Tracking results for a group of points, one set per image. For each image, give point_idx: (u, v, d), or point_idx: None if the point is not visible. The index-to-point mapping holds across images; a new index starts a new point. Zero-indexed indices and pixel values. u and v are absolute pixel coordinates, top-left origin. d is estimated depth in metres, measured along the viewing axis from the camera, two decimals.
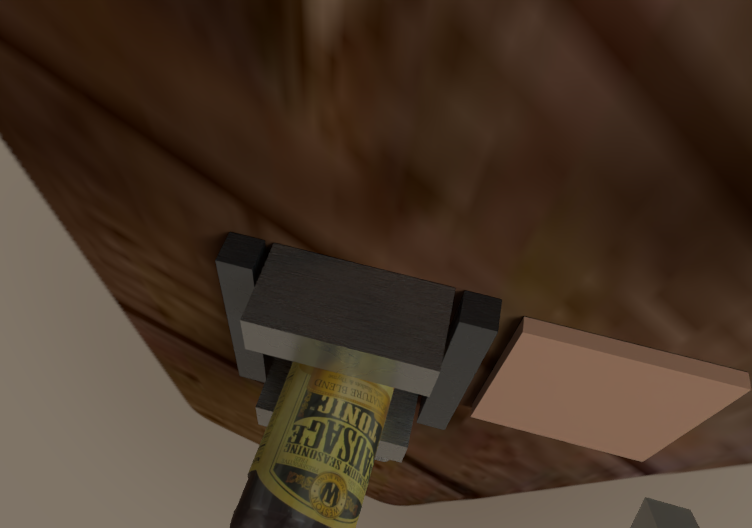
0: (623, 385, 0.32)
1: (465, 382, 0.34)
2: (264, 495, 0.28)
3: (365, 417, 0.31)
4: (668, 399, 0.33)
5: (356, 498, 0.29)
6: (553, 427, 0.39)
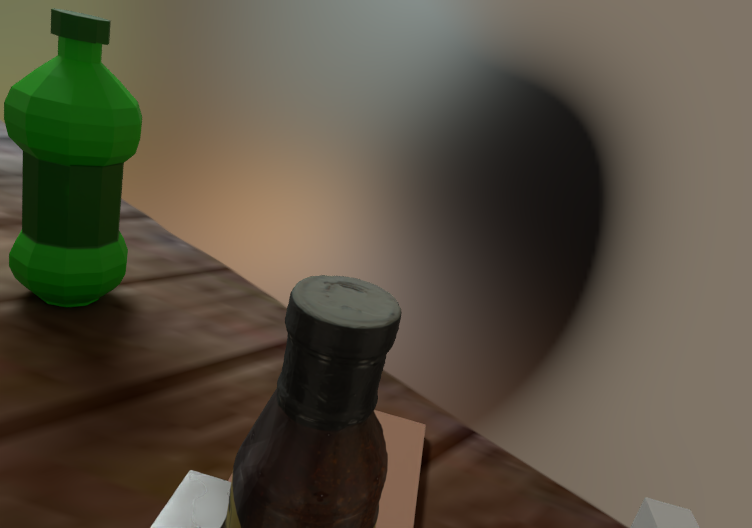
0: None
1: None
2: (235, 482, 0.23)
3: None
4: None
5: None
6: (395, 474, 0.41)
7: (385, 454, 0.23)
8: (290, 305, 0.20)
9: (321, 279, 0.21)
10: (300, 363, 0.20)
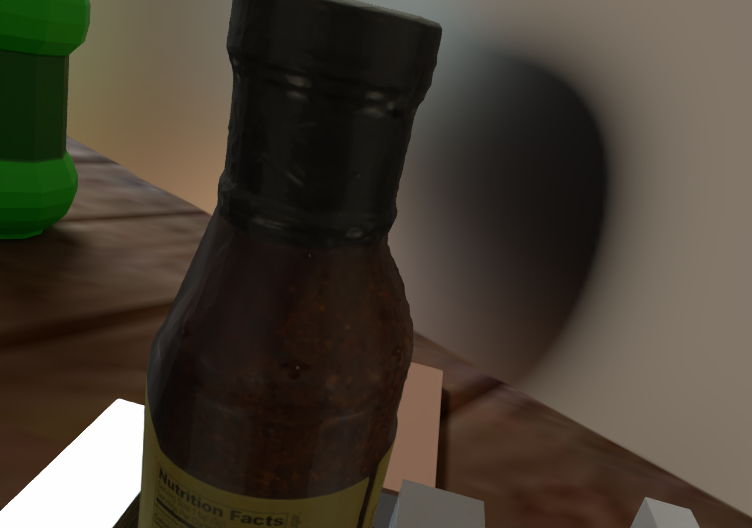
0: None
1: None
2: (150, 367, 0.13)
3: None
4: None
5: None
6: (407, 424, 0.31)
7: (410, 319, 0.13)
8: None
9: None
10: (253, 110, 0.10)
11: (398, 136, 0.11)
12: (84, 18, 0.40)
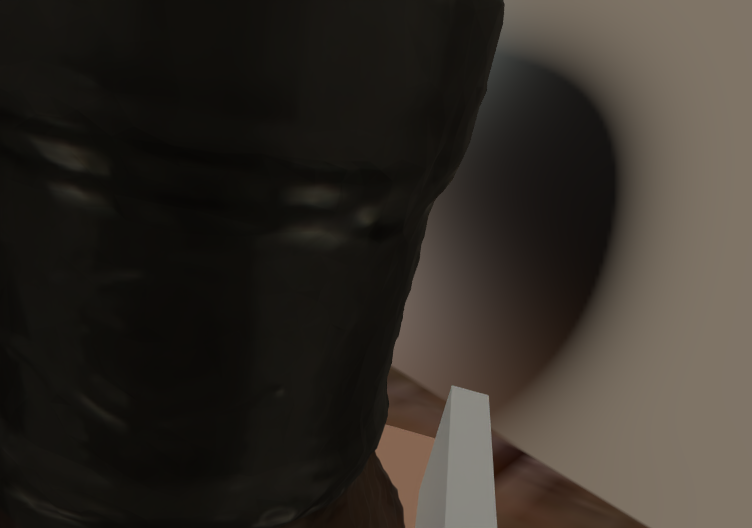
0: None
1: None
2: None
3: None
4: None
5: None
6: None
7: None
8: None
9: None
10: None
11: (389, 276, 0.04)
12: None
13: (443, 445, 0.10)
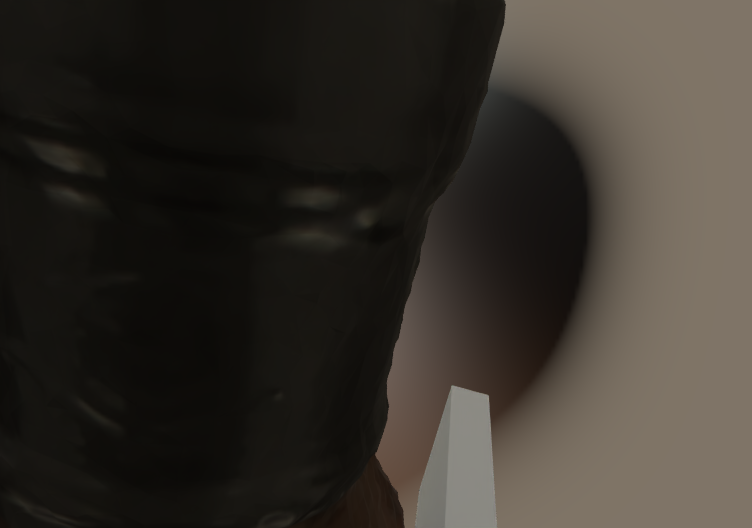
0: None
1: None
2: None
3: None
4: None
5: None
6: None
7: None
8: None
9: None
10: None
11: (389, 278, 0.04)
12: None
13: (443, 445, 0.10)
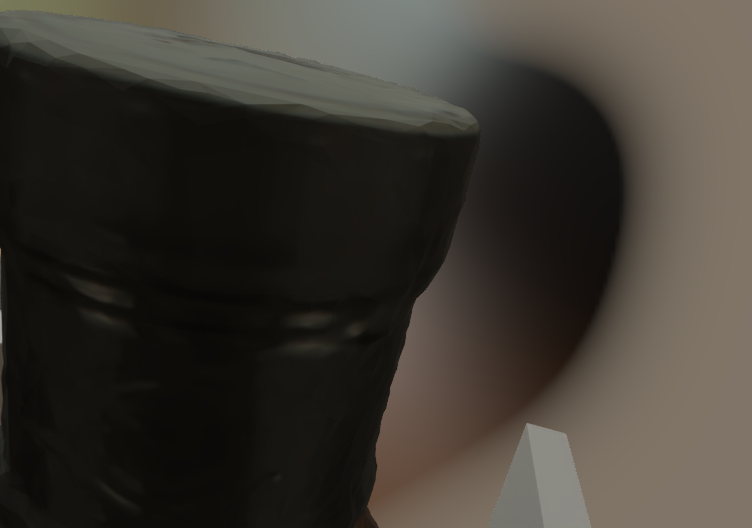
0: None
1: None
2: None
3: None
4: None
5: None
6: None
7: None
8: None
9: (173, 31, 0.06)
10: (18, 330, 0.04)
11: (376, 368, 0.05)
12: None
13: (527, 491, 0.10)
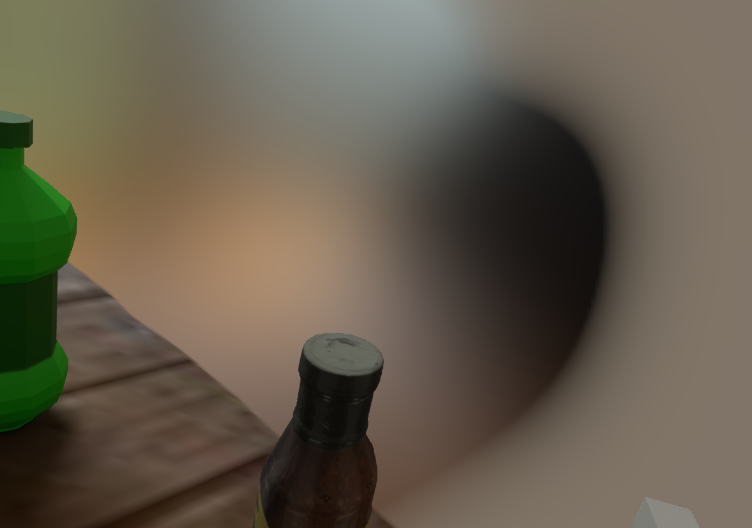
0: None
1: None
2: (262, 489, 0.30)
3: None
4: None
5: None
6: None
7: (375, 467, 0.30)
8: (302, 358, 0.28)
9: (324, 337, 0.29)
10: (310, 401, 0.27)
11: (366, 404, 0.28)
12: (70, 242, 0.44)
13: None
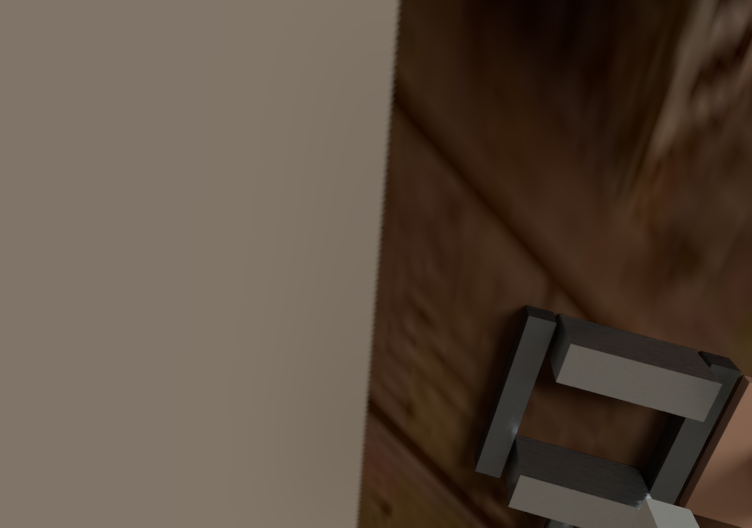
0: None
1: (700, 443, 0.43)
2: None
3: None
4: None
5: None
6: None
7: None
8: None
9: None
10: None
11: None
12: None
13: None
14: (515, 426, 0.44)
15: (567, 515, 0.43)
